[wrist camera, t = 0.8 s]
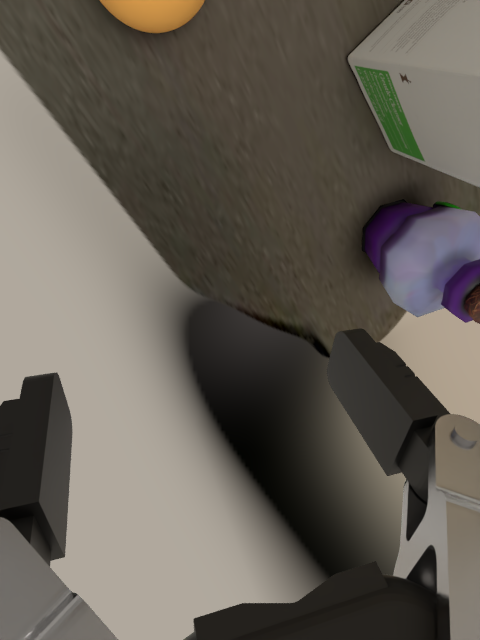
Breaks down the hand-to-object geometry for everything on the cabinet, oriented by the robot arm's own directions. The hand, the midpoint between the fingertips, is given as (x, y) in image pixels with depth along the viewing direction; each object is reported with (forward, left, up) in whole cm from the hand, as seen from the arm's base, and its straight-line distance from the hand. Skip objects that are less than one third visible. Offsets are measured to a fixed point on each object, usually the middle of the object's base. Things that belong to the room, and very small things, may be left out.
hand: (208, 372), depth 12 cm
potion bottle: (-16, +14, -19) cm, 28 cm away
